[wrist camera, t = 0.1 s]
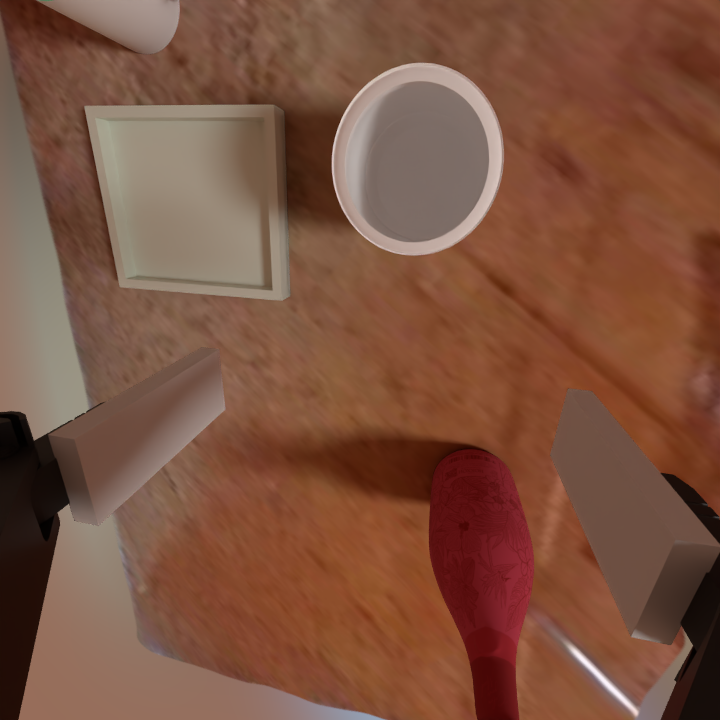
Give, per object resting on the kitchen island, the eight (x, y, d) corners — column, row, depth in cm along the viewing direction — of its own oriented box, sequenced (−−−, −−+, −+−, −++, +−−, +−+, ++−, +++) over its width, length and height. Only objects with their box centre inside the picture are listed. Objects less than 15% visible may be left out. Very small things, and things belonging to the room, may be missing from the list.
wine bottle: (440, 512, 50) (438, 873, 23) (423, 449, 47) (398, 776, 20) (518, 505, 48) (624, 906, 20) (506, 438, 45) (610, 800, 17)
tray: (104, 112, 40) (84, 105, 38) (284, 111, 37) (273, 104, 35) (135, 283, 47) (119, 287, 45) (290, 295, 44) (281, 300, 41)
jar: (350, 171, 38) (297, 149, 24) (440, 92, 34) (439, 12, 20) (410, 261, 40) (394, 288, 26) (502, 195, 36) (540, 186, 22)
